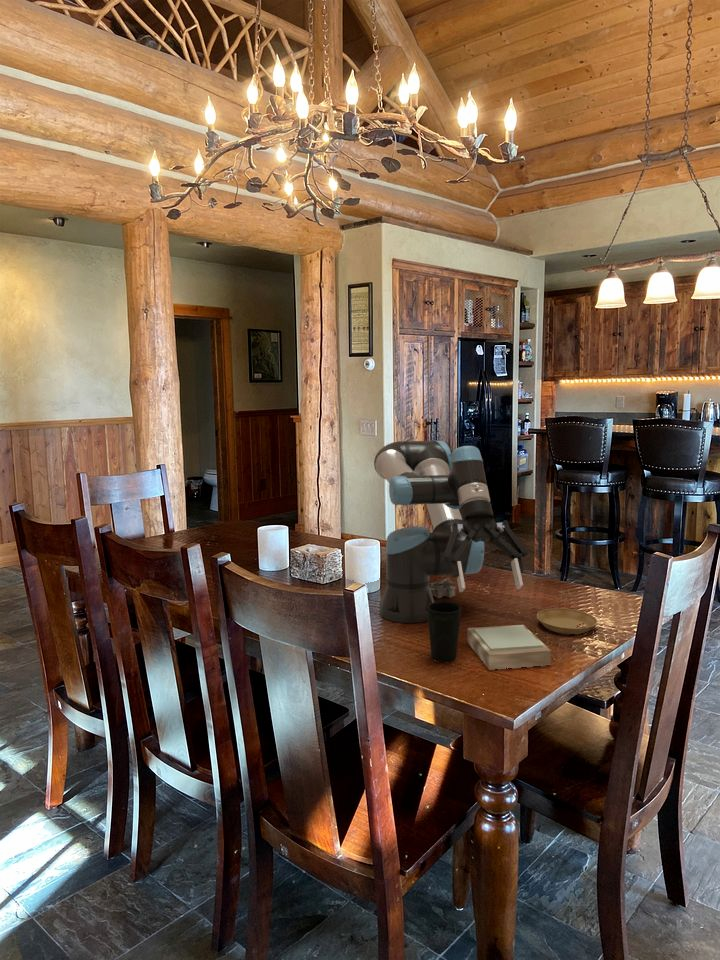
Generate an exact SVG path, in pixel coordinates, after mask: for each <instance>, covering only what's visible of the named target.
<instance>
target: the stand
mask: <svg viewBox="0 0 720 960" xmlns="http://www.w3.org/2000/svg"><path fill="white" fill-rule="evenodd" d="M466 638H467V641H466V642H467V644H468V645H469V646H470V647H471V649H472V650H473V651H474V652H475V654H476V655H477V657H478V658H479V659H480V661H481V662H482V661H483V662H482V663H483V664H484V666H485V667H486V669H488V670H489V671H496V670H495V669H498V670H509V669H508V668H512V669H522V668H521V667H527V668H534V667H533V666H541V667H544V666H543V665H551V663H552V662H551V661H552V660H551V659H552V650H551V649H550V648H549V647H548V646H547V645H546V644H545V643H544V642H542V641H541V640H540V639H539V638H538V637H537V636H536V635H535V634H534V633H533V632H531V631H530V630H529V629H528V628H527V626H526V625H524V624H516V625H499V626H483V627H468V628H467V637H466ZM506 668H507V669H506Z"/></svg>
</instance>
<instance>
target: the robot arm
mask: <svg viewBox="0 0 720 960" xmlns="http://www.w3.org/2000/svg"><path fill="white" fill-rule="evenodd" d="M483 462H484V460H483V458H482V455H481V452H480V449H479V448H478V447H477V446H474V445H462V446H460V447H457V448H455V449H453V451H451V449H450V446H449V445H448V443H446V442H445V441H443V440H435V439H431V440H409V441H408V440H406V441H403V440H399V441H394V442H391V443H387V444H385V446H383V447H381V449H379V451H377V453H376V454H375V456H374V461H373V465H374V470H375V473H376V474H377V475H378V476H379V477H380V478H382V479H383V480H385V481H387V482H388V492H389V499H390V503H392V505H396V506H413V505H426V508H427V510H428V514H429V518H430V521H431V524H432V531H430V529H429V528H428V527H426V526H409V527H408V526H407V527H402V528H398V529H395V530H393V531H391V532H389V534H388V535H387V537H386V544H385V545H386V546H385V550H384V551H385V554H386V555H385V556H386V558H385V560H386V564H385V565H386V567H385V568H386V579H385V581H386V584H385V585H386V587H385V590H384V593H383V596H382V599H381V601H380V602H381V603H380V604H379V605H380V607H379V614H381V615H380V616H381V617H382V618H384V619H386V620H387V621H390V622H393V623H394V622H395V623H401V624H403V623H404V624H416V623H417V624H418V623H423V622H424V623H425V622H426V621H427V622H428V613H427V606H428V605H429V604H431V603H434V602H435V600H434V597H433V596H432V593H431V590H430V587H429V583H430V577H433V576H450V575H451V576H452V578H456V581H457V585H458V593H463V592H464V591H465V589H466V583H465V578H464V576H467V575H471V574H472V575H473V574H477V573H479V572H480V571H481V569H482V567H483V565H484V561H485V560H484V557H485V542H486V543H487V542H488V541H490V542H491V543H492V544H494V545H495V546H496V547H498V548H499V549H500V550H501V551H502V552H503V553H505V555H506V556H508V557H509V558H510V559H511V560H512V561H511V562H510V565H511V570H512V575H513V579H514V580H513V581H514V584H515V588H516V590H520V589H521V588H522V587H523V586H524V583H523V578H522V574H523V573H524V566H523V559H525V558H526V557H528V555H529V552H528V550H527V549H526V547H525V546H524V545H523V543H521V541H520V539H519V538H518V537H517V536H516V534H515V533H514V531H513V529H511V528H510V524H509V521H508V520H506V519H504V520H503V521H502V522H496V521H495V518H494V511H493V508H492V503H491V497H490V492H489V488H488V487H489V486H488V483H487V478H486V472H485V468H484V463H483ZM497 529H498V530H499V532H501V533H502V535H503V536H504V538H505V539H506V540H507V541H506V540H505V539H504V538H503V537H502V536H501V535H500V533H499V532H498V531H497Z"/></svg>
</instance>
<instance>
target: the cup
mask: <svg viewBox="0 0 720 960" xmlns="http://www.w3.org/2000/svg"><path fill="white" fill-rule="evenodd" d="M427 613H428V620H427V622H428V633H429V634H428V635H429V645H430V655H431V659H432V661H434V660H436V661H439V662H438V663H441V662H449V663H452V661H453V662H455V661H456V660H455V659H457V653H458V646H459V645H458V643H459V633H460V623H461V615H462V607H461V605H459V604H458V603H456V602H455V603H454V602H452V601H451V602H450V601H436V602H435V601H434V603H431V604H429V605H428V606H427ZM454 660H455V661H454ZM436 661H435V662H436Z"/></svg>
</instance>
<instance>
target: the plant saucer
mask: <svg viewBox="0 0 720 960" xmlns="http://www.w3.org/2000/svg"><path fill="white" fill-rule="evenodd" d="M536 618H537V619H538V621H539V622H540V624H541V625H543V627H545V628H546V629H547V630H548V631H551V632H553V633H557V634H562V635H570V634H575V635H582V634H581V633H583V634H586V633H588V632H589V631H590V630H592V629H593V628H594V627H595V626H596V625H597V624H598V619H597V618H596V617H595V616H594V615H592V614H590V613H588V612H585V611H582V610H577V609H571V608H562V607H561V608H560V607H557V608H556V607H554V608H547V609H542V610H540V611H538V612H537V614H536ZM583 623H584V624H586V625H587V626H588V627H586V628H576V627H577V625H578V626H580V625H579V624H581V625H584V624H583ZM585 632H586V633H585Z"/></svg>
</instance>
